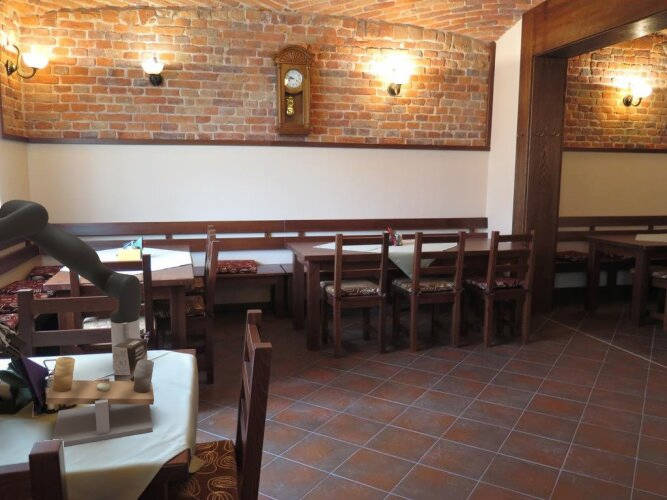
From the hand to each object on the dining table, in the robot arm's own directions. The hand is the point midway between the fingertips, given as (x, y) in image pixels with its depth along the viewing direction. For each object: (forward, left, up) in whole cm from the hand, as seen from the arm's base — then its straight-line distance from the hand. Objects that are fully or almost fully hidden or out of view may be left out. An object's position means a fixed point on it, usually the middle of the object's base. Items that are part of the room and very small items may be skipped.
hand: (22, 351), depth 133 cm
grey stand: (-12, +14, -23) cm, 29 cm away
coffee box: (-31, +8, -23) cm, 39 cm away
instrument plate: (-12, +14, -14) cm, 23 cm away
